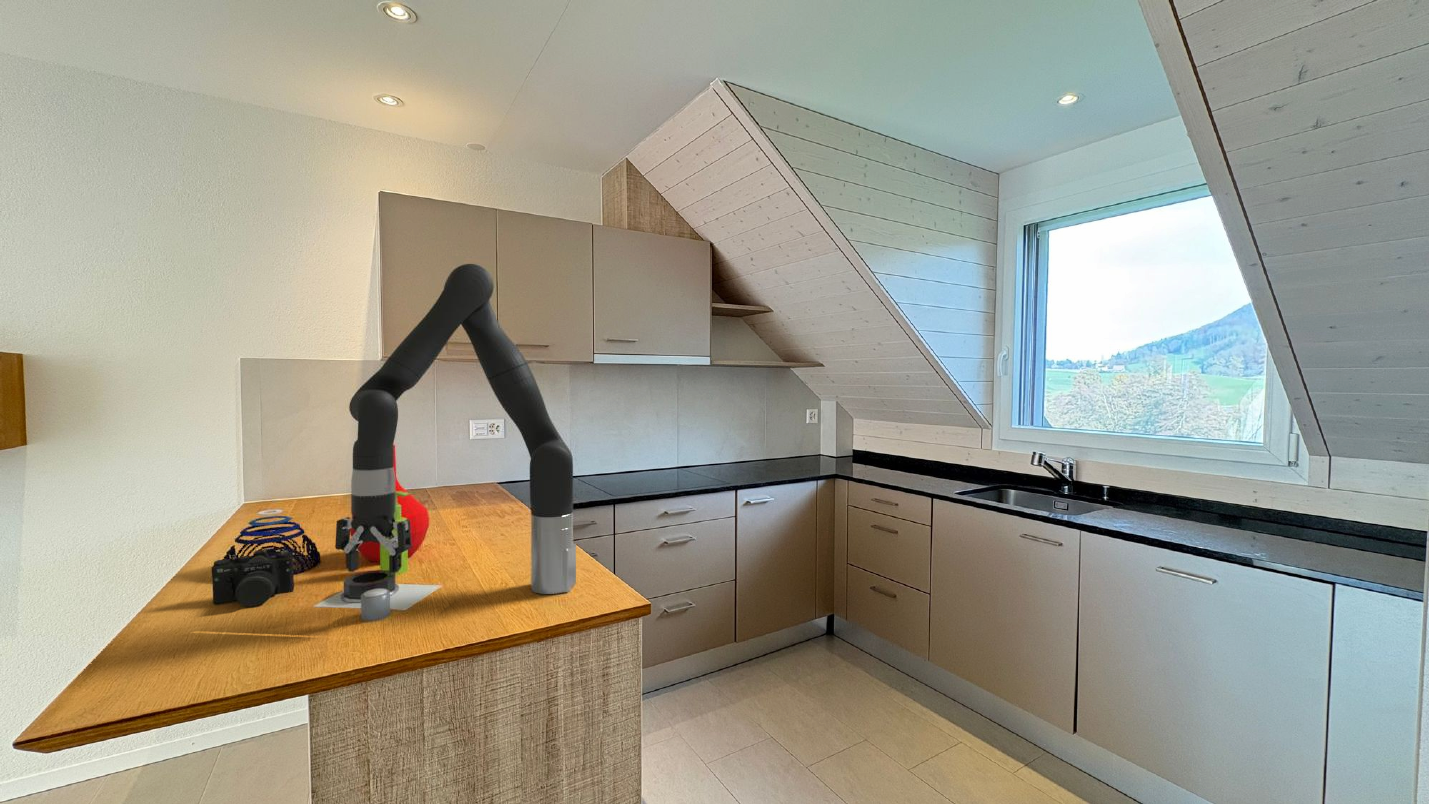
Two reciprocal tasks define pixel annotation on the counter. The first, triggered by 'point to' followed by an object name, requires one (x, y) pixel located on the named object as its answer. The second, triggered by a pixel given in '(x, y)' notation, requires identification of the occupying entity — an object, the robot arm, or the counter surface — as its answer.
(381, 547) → the soap dispenser
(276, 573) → the camera
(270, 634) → the counter surface
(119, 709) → the counter surface
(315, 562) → the decorative bowl
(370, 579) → the black faceted bowl
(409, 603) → the mat
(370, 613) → the cap
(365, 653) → the counter surface
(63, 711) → the counter surface
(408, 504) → the vase
